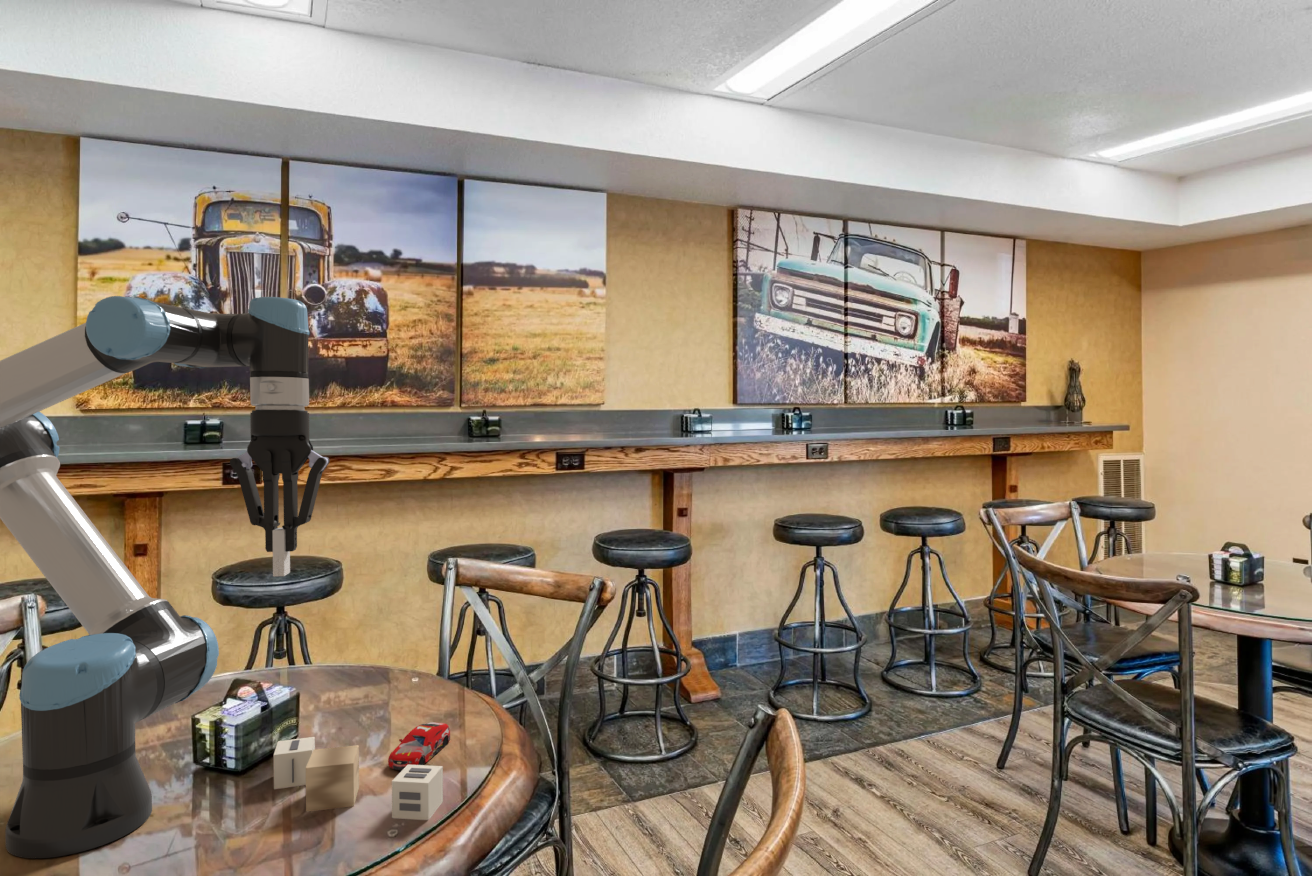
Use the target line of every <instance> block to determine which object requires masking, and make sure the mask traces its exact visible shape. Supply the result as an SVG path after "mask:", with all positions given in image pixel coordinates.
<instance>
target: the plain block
mask: <svg viewBox="0 0 1312 876" xmlns="http://www.w3.org/2000/svg"><path fill="white" fill-rule="evenodd" d="M359 789H360V745H358V744H356V745H346V746H336V747H335V746H334V747H326V748H315V749H314V750H313V752H312V755H311V757H310V759H309V761H308V764H307V766H306V785H305V812H306V813H307V812H315V811H324V810H334V809H342V808H350V807H355V803H356V800H357V796H358V792H359Z"/></svg>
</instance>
